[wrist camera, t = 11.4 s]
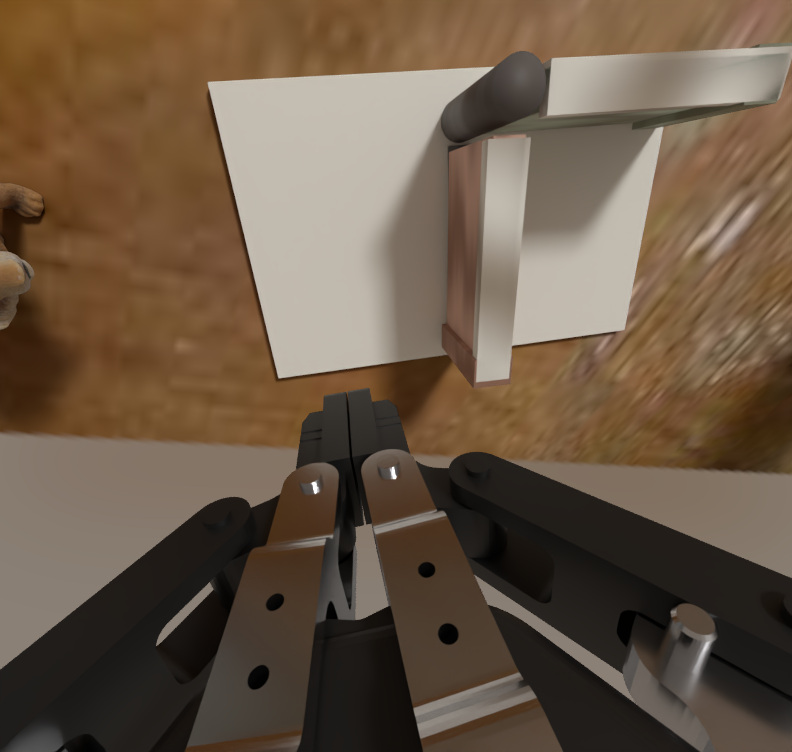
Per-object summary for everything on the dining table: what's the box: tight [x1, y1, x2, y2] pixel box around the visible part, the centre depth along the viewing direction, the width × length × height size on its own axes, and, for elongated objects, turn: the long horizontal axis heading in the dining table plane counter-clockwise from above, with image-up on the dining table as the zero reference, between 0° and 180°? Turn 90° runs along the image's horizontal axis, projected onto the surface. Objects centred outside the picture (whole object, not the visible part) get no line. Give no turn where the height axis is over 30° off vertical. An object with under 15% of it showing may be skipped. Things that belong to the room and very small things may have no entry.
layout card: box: [208, 64, 663, 378], centre depth 20 cm, size 22×14×1 cm, turn 95°
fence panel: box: [442, 134, 531, 388], centre depth 18 cm, size 10×2×6 cm, turn 3°
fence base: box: [441, 43, 792, 143], centre depth 16 cm, size 12×2×6 cm, turn 95°
